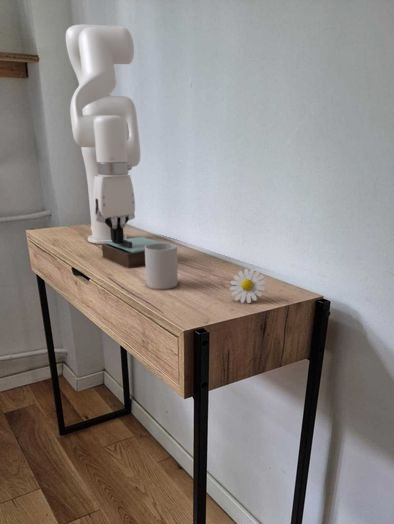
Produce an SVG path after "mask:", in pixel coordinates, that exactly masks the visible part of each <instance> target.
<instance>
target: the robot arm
mask: <svg viewBox="0 0 394 524" xmlns="http://www.w3.org/2000/svg"><path fill="white" fill-rule="evenodd" d="M128 29H129V28H126V27H124V26H119V25H106V24H105V25H104V24H87V23H86V24H85V23H83V24H81V23H80V24H74V25H71V26H69V27H68V28H67V29H66V31H65V45H66V50H67V55H68V58H69V61H70V65H71V67H72V69H73V72H74V73H75V75H76V79H77V81H78V87H77V88H76V89H75V90H74V93H73V94H72V97H71V100H70V107H69V113H70V122H71V129H72V137H73V140H74V142H75V143H76V145H77V146H79V147H80V148H81V154H82V159H83V163H84V169H85V174H86V181H87V182H86V183H87V193H88V202H89V203H88V204H89V215H90V228H89V229H90V231H91V235H89V236H87V242H89V243H91V244H97V245H102V244H107V242H108V241H112V242H113V243H115V244H119V243H120V244H123V239H128V236H127V235H126V234H125V233H124V229H125V227H126V225H127V223H128V221H131V220H134V219H135V218H136V215H135V212H136V199H135V191H134V185H133V182H132V177H131V175H130V174H129V171H131V170H132V169H133V168H134V167H137V166H138V165H139V164H140V161H141V144H140V134H139V125H138V117H137V110H136V105H135V103H134V101H133V99H131V98H130V97H128V96H124V95H111V94H112V92H114V91H115V89H116V86H117V77H116V71H115V65H130V64H132V63H133V60H134V56H135V45H134V40H133V36H132V34H131V32H130V30H128Z"/></svg>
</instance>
